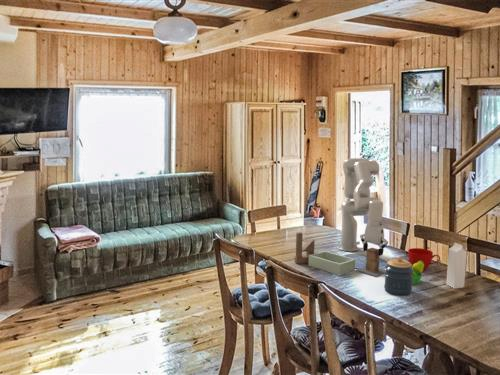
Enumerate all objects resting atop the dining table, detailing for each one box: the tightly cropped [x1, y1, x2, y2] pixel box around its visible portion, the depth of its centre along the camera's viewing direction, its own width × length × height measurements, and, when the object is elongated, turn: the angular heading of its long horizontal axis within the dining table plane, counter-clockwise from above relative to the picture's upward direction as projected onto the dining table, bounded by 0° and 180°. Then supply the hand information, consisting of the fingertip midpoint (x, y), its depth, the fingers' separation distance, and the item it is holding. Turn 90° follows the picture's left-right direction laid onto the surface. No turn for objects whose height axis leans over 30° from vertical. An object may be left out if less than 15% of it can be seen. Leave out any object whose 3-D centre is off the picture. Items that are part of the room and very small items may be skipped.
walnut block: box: [365, 247, 381, 272], centre depth 252 cm, size 5×5×12 cm
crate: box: [307, 250, 356, 276], centre depth 258 cm, size 14×22×6 cm, turn 42°
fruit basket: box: [411, 261, 424, 285], centre depth 237 cm, size 11×9×11 cm
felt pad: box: [355, 265, 386, 278], centre depth 253 cm, size 13×13×1 cm
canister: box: [383, 255, 413, 297], centre depth 222 cm, size 13×13×18 cm
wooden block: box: [294, 231, 315, 265], centre depth 266 cm, size 4×11×18 cm, turn 104°
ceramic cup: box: [407, 247, 441, 271], centre depth 257 cm, size 13×17×10 cm
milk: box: [445, 242, 468, 289], centre depth 230 cm, size 6×6×22 cm
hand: (372, 253), depth 252 cm, fingers open, 9 cm apart
